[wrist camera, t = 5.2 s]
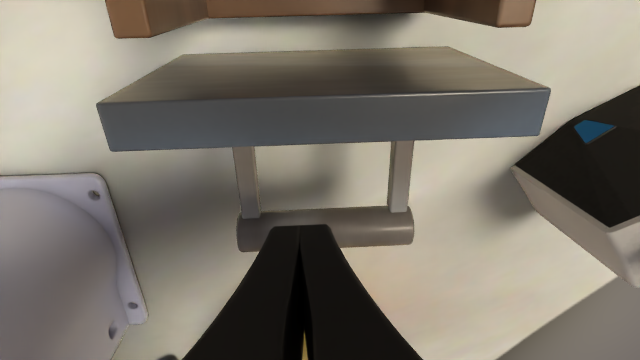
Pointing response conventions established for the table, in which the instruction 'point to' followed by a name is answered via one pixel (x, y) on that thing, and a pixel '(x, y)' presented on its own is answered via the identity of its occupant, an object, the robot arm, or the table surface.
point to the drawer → (319, 101)
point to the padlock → (593, 183)
